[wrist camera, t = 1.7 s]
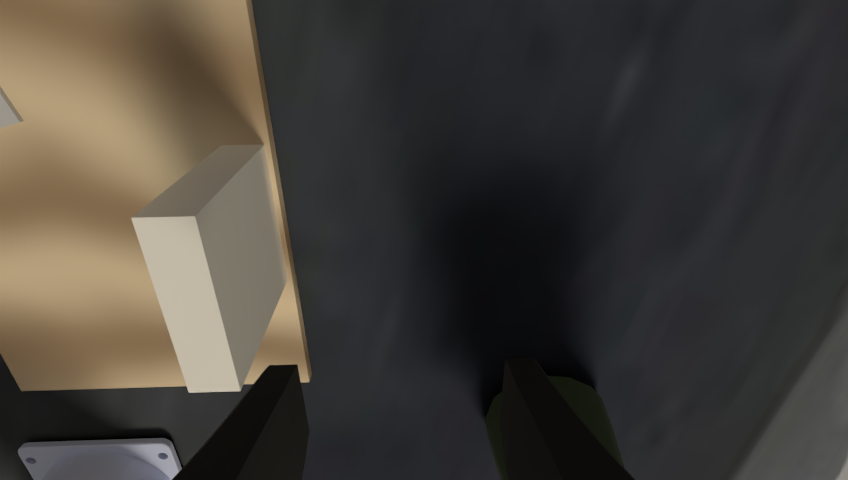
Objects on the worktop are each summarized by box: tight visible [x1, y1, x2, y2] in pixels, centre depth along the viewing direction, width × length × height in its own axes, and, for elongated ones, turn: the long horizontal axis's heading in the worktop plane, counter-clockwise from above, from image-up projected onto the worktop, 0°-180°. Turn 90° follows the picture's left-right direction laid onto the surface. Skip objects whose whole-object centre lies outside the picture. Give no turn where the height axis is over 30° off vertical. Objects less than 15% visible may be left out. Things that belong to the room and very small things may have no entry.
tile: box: [131, 144, 288, 393], centre depth 16 cm, size 6×2×6 cm, turn 1°
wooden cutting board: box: [0, 0, 312, 391], centre depth 19 cm, size 18×14×1 cm
